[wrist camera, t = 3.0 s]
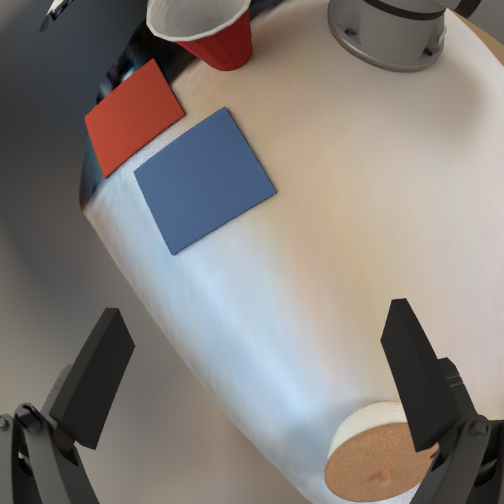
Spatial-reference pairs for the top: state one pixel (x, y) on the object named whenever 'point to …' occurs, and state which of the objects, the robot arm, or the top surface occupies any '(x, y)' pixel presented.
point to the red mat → (132, 116)
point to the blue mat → (202, 181)
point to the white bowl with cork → (375, 455)
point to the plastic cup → (205, 29)
